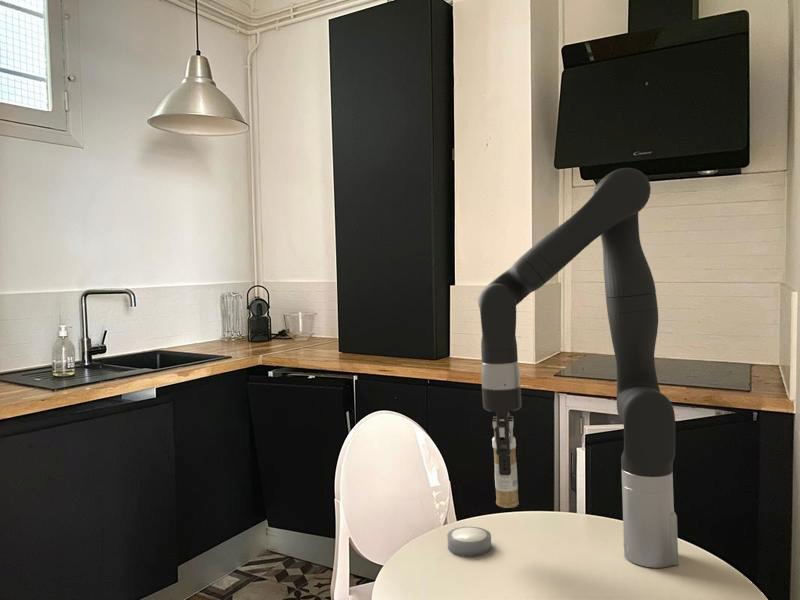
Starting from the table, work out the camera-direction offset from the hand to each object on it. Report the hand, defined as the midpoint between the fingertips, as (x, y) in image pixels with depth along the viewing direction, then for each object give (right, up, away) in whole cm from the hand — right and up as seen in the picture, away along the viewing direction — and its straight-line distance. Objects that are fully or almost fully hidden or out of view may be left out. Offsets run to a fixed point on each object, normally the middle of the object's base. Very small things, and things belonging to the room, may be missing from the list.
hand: (505, 470), depth 121 cm
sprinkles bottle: (0, -7, 0) cm, 7 cm away
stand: (-6, -18, +6) cm, 20 cm away
